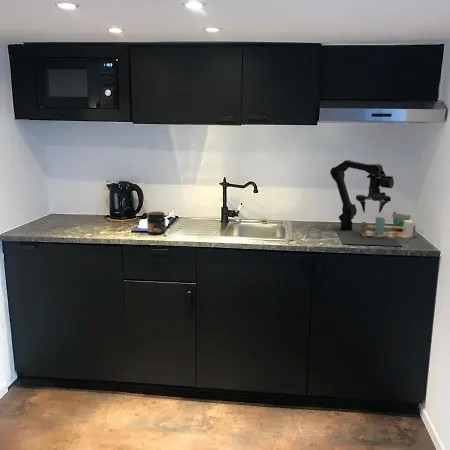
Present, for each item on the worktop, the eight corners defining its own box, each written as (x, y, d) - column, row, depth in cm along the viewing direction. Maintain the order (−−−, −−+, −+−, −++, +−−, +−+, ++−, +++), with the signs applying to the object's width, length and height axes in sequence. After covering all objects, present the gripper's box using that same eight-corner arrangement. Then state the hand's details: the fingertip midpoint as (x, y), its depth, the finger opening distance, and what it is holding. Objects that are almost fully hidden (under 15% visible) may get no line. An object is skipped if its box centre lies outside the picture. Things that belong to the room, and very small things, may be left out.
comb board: (362, 236, 274) (363, 224, 273) (360, 232, 284) (361, 220, 282) (412, 238, 271) (414, 226, 269) (408, 234, 280) (409, 222, 279)
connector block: (405, 235, 272) (406, 222, 271) (402, 233, 279) (403, 219, 277) (415, 236, 272) (416, 222, 270) (412, 233, 278) (413, 220, 277)
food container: (386, 228, 295) (388, 212, 293) (393, 227, 298) (395, 211, 296) (401, 232, 285) (403, 216, 282) (409, 231, 288) (410, 215, 285)
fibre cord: (364, 227, 277) (364, 225, 277) (364, 227, 279) (364, 224, 278) (405, 229, 274) (405, 226, 274) (405, 228, 276) (405, 226, 275)
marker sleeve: (376, 233, 275) (377, 219, 273) (374, 231, 281) (375, 217, 279) (383, 233, 274) (384, 219, 272) (381, 231, 280) (382, 217, 278)
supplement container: (145, 235, 272) (144, 214, 269) (149, 230, 282) (149, 211, 279) (163, 235, 271) (163, 215, 268) (167, 231, 281) (166, 211, 278)
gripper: (362, 188, 265) (360, 215, 269) (395, 188, 266) (392, 215, 269) (356, 185, 276) (354, 211, 280) (388, 185, 276) (385, 211, 280)
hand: (371, 212), depth 277 cm, fingers open, 9 cm apart
